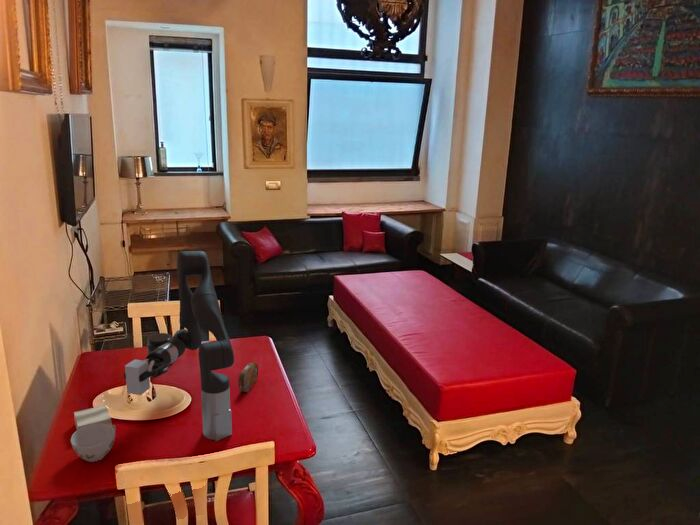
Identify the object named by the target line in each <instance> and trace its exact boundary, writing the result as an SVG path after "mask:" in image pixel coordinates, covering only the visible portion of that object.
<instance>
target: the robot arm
mask: <svg viewBox="0 0 700 525" xmlns="http://www.w3.org/2000/svg"><path fill="white" fill-rule="evenodd" d="M176 270H177V271H176V272H177V286H178V294H179V325H180V326H181V327H182V328H181V329H179V330H176V332H175V333H174V335H173V336H171V338H172V339H171V340H170V341H169V342H167V343H166V344H164V345H161V346H160V347H158V348H157V349H155V350H154V351H152V352H151V353H149V354H148V353H147V355H146V357H145V359H142V361H147V362H148V367H149V369H148V370H147V371H145V372H144V373H143V374H141V375H140V376H139V382H142V381H144V380H146V379H147V378H149V379H150V378H152V377H153V378H157V377H160V376H162V375H164V374H165V373H167V372H168V370H169V369H168V368H169V366H170V365H171V363H172V364H173V363H174V362H175V361H176V360H177V359H179V357H181V356H183V354H185V352H186V350H187V349H188V350H191V351H196V350H198V361H199V370H200V374H199V375H200V388H201V390H200V391H201V394H200V395H201V414H202V417H201V418H202V433H203V434H202V435H203V437H204V438H206V439H208V440H213V441H215V442H219V441H220V440H223V439H225V438H227V437H230V436H231V435H233V425H232V424H233V421H232V409H231V393H230V392H231V388H230V384H231V383H230V378H229V377H228V376H227V375H226V374H224V373H220V372H216V371H218V370H223V369H227V368H231V367H233V365H234V363H235V355H234V349H233V348H234V347H233V346H232V343H231V340H230V338H229V335H228V332H227V329H226V326H225V323H224V319H223V315H222V311H221V307H220V302H219V299H218V296H217V292H216V289H215V286H214V283H213V278H212V271H211V267H210V260H209V258H208V254H207V253H206V252H205V251H202V250H188V251H187V250H185V251H184V250H183V251H180V252H179V253H178V254H177V258H176ZM190 276H192V277H193V276H199V277H201V278H200V281H199V283H198V285H197V286H196V288H195V290H194V292H193V291H192V289H190V286H189V284H188V281H187V280H188V279H187V278H188V277H190ZM200 325H201V326H203V327H204V328H205V329H206V330H207V331H209V332H210V334H212V335H213V336H214V338H215V341H208V342H203V336H202V331H201V327H200ZM202 342H203V343H202ZM135 359H136V360H138V359H137V358H134V359H133V360H135ZM133 360H131V361H130V362H132V361H133ZM214 371H215V372H214ZM123 378H124V379H125V380H126V373H125V372H124V373H123Z"/></svg>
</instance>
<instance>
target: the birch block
mask: <svg viewBox="0 0 700 525" xmlns="http://www.w3.org/2000/svg"><path fill="white" fill-rule="evenodd" d="M73 414H74V417H73V418H74V424H75V429H76V431H77V430H78V429H80V428H82V427H85V426H87V425H91V424H108V425H110V426H111V425H113V424H112V417H111V415H110V413H109V409H108V408H107V406H106V404H104V405H100V406H94V407H91V408H86V409H82V410H78V411H74V412H73Z"/></svg>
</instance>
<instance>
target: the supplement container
mask: <svg viewBox="0 0 700 525" xmlns="http://www.w3.org/2000/svg"><path fill="white" fill-rule="evenodd" d="M171 339H172V335H171V334H169V333H167V332H166V333H165V332H159V333H154V334H150V335H149V336H148V338H147V344H146V345H147V346H146V348H147V355H148V354H149V353H151V352H152V351H154V350H155V349H157V348H158V347H160V346H161V345H164V344H166V343H167V342H169V341H170V340H171ZM171 364H173V363H171ZM171 364H170V365H171Z"/></svg>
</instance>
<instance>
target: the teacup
mask: <svg viewBox="0 0 700 525" xmlns="http://www.w3.org/2000/svg"><path fill="white" fill-rule="evenodd" d="M115 438H116V425H115V424H112V425H111V426H110V425H108V424H91V425H87V426H85V427H82V428H80V429H78V430H77V429H76V431H74V433H73V434H72V435H71V438H70V443H71V447H72V449H73V451H74V453H75V454H76V455H77V456H78V457H80V458H81V459H82V460H85V461H87V462H91V463H95V461H96V462H99V461H101V460H102V459H104V458H105V456H106V455H107V454H108V453H109V452H110V450H111V449H112V447H113V445H114V442H115ZM98 460H99V461H98Z"/></svg>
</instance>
